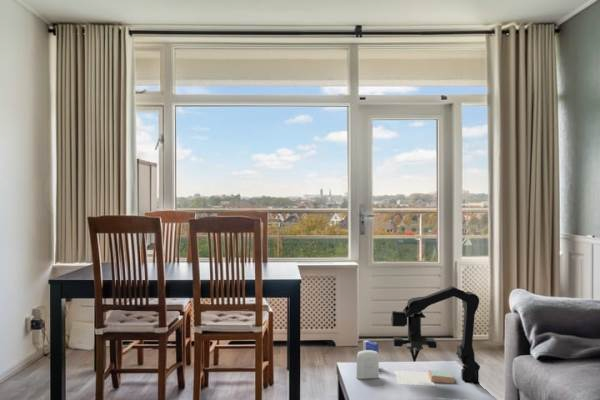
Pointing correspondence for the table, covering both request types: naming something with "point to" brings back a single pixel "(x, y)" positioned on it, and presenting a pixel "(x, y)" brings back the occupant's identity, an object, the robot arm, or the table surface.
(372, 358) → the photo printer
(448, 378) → the tile
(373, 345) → the walkman
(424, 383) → the mat
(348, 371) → the table surface
